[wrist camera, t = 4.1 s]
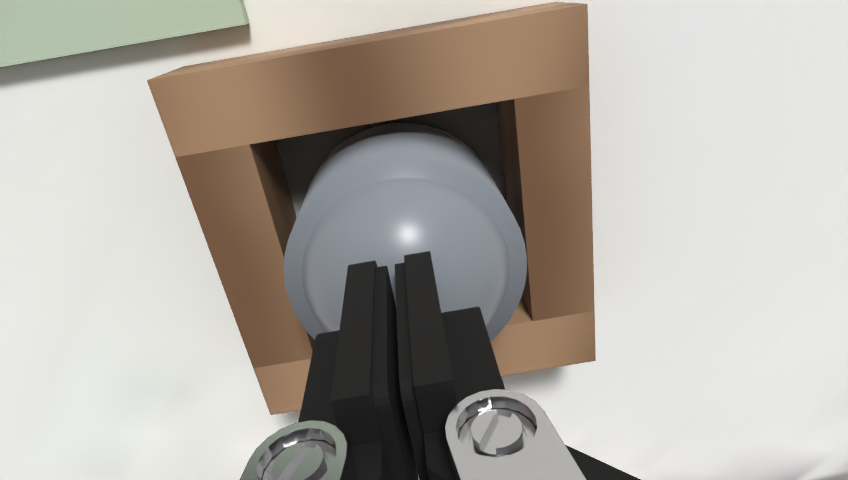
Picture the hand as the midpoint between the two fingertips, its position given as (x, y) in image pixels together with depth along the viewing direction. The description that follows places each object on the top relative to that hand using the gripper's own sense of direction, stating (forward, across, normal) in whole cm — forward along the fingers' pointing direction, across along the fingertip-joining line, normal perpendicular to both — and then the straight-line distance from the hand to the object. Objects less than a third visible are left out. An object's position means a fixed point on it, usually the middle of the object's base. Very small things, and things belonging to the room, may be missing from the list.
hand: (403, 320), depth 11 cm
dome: (+5, 0, 0) cm, 5 cm away
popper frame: (+6, 0, 0) cm, 6 cm away
